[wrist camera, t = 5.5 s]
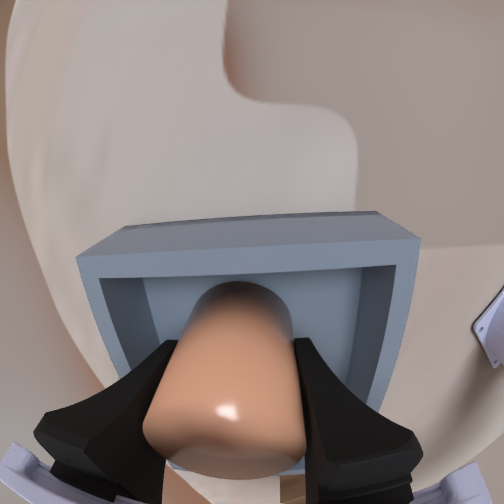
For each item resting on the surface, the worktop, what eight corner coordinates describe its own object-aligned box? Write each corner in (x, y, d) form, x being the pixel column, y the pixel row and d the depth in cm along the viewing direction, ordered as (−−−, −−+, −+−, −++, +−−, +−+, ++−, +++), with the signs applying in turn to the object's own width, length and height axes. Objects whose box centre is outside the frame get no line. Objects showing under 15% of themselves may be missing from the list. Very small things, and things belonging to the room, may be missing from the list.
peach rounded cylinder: (312, 327, 13) (338, 448, 7) (243, 377, 15) (230, 487, 8) (238, 259, 12) (209, 372, 6) (171, 323, 14) (118, 431, 7)
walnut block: (343, 459, 23) (349, 494, 18) (309, 474, 24) (312, 508, 20) (315, 449, 22) (319, 490, 17) (280, 465, 23) (280, 502, 19)
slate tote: (125, 226, 15) (75, 256, 10) (375, 210, 14) (420, 238, 9) (185, 424, 21) (173, 468, 16) (343, 421, 20) (353, 467, 15)
